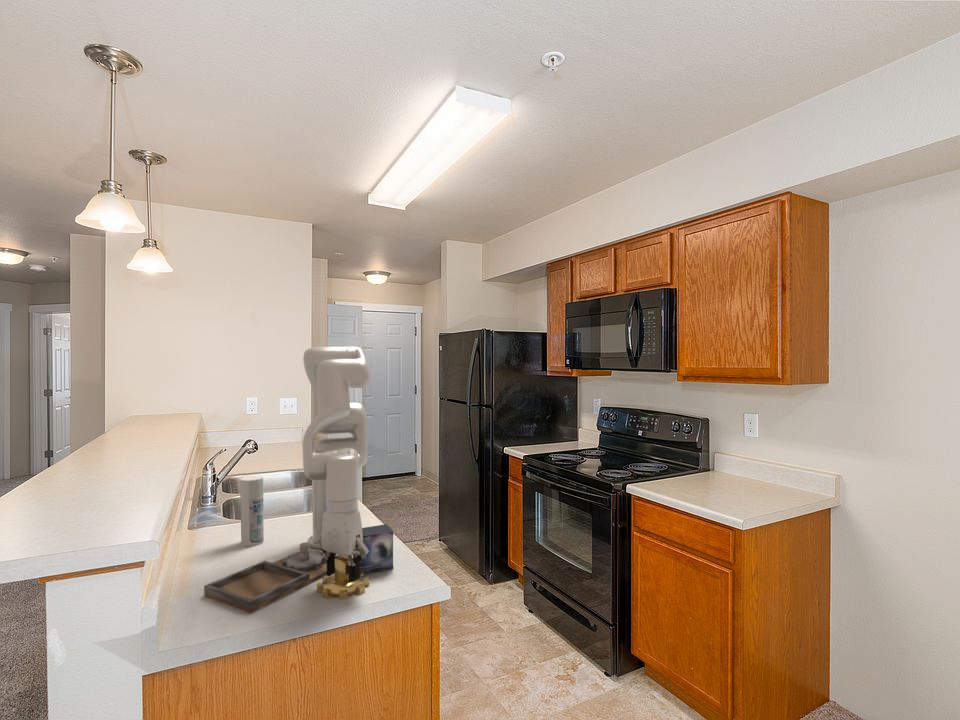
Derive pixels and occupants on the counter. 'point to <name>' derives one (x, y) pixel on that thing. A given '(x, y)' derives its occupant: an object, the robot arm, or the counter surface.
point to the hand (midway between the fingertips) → (343, 576)
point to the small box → (377, 549)
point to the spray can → (252, 510)
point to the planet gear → (342, 581)
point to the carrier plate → (268, 580)
